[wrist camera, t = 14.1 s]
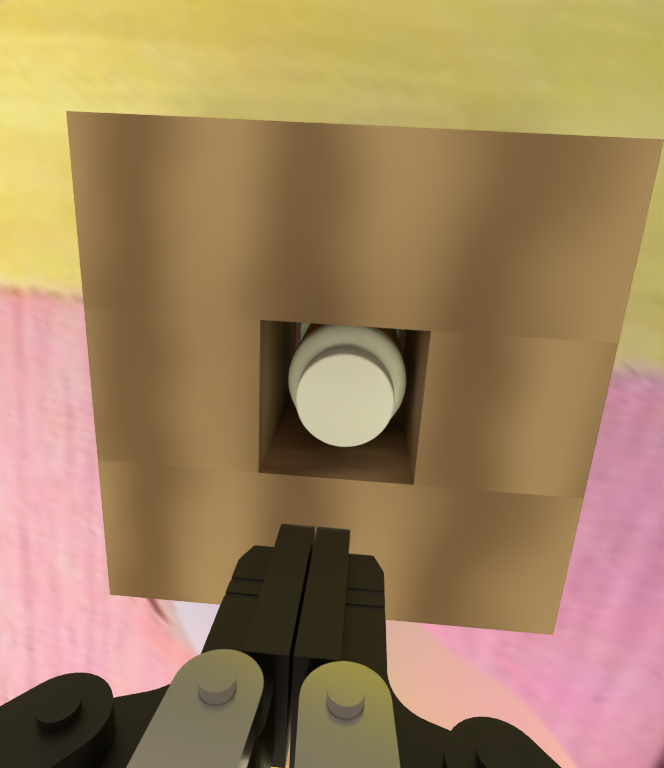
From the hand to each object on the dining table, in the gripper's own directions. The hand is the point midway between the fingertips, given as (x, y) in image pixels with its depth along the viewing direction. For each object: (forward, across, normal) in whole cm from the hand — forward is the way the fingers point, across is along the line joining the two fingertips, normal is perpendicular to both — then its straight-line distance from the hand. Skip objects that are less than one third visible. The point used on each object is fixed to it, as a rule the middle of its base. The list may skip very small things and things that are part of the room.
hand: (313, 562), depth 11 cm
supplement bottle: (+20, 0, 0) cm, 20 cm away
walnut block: (+21, 0, 0) cm, 21 cm away
